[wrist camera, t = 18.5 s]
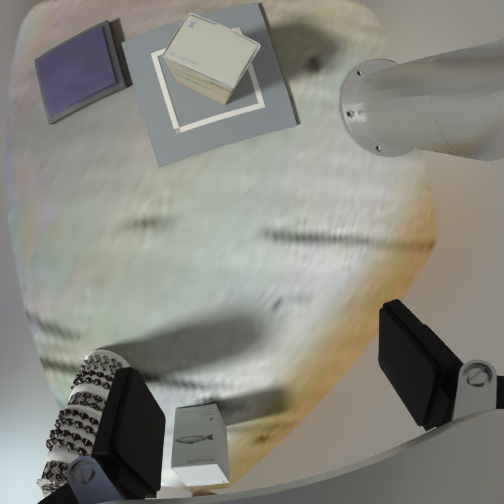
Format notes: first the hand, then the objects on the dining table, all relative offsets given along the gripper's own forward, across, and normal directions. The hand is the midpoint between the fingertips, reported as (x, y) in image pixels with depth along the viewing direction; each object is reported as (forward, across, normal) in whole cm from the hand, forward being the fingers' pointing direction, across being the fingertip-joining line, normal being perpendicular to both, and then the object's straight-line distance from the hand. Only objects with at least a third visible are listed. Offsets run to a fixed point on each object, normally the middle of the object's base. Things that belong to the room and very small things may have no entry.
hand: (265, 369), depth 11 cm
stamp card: (+27, -1, -15) cm, 31 cm away
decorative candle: (+28, +25, +20) cm, 42 cm away
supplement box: (+28, +14, +34) cm, 46 cm away
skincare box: (+27, -2, -15) cm, 30 cm away
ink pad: (+27, +13, -21) cm, 37 cm away
